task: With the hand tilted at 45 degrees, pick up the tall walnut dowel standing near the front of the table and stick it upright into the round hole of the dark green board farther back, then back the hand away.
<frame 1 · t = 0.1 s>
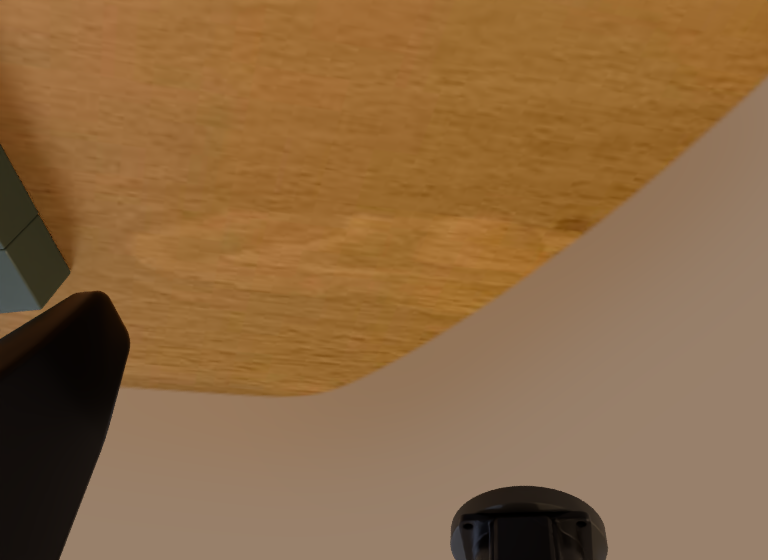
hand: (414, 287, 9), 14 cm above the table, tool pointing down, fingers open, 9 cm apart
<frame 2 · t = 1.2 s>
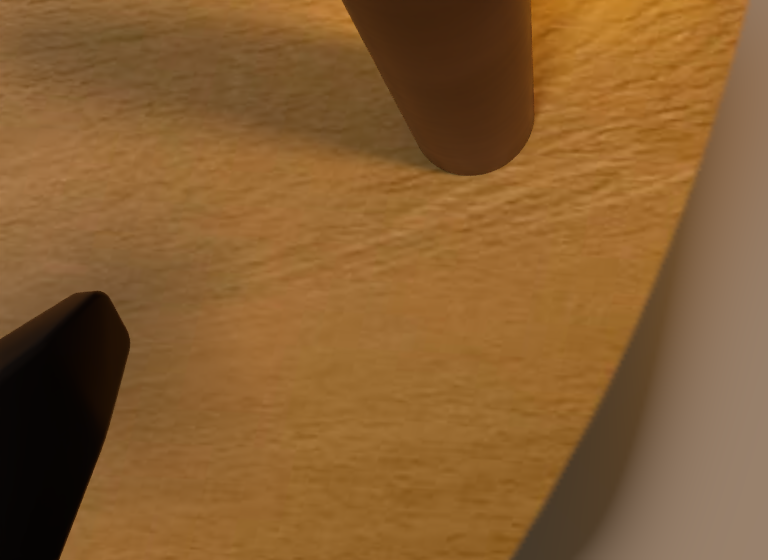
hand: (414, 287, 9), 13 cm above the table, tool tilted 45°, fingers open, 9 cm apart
dowel: (472, 117, 23), on the table
when the fingers open (8 cm above the table, at t = 11.9 s): dowel stays where it is, resting in board.
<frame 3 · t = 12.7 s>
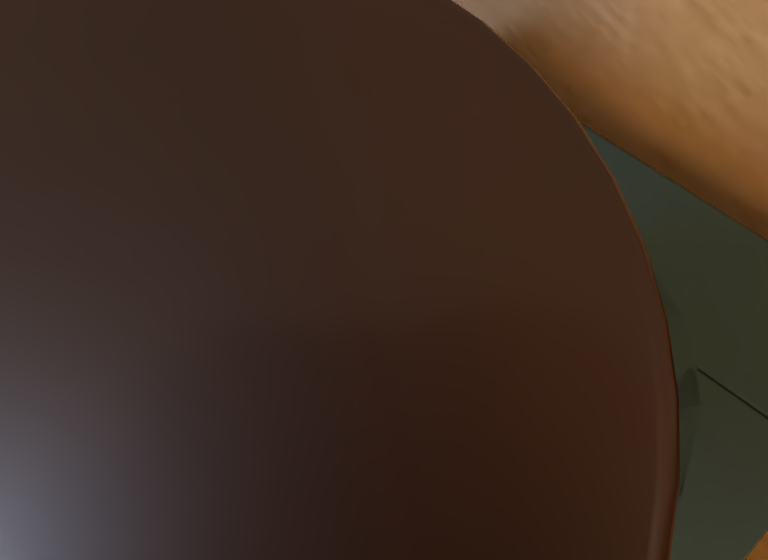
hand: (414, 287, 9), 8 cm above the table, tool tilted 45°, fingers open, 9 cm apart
board: (477, 388, 17), on the table
dowel: (477, 384, 17), resting in board
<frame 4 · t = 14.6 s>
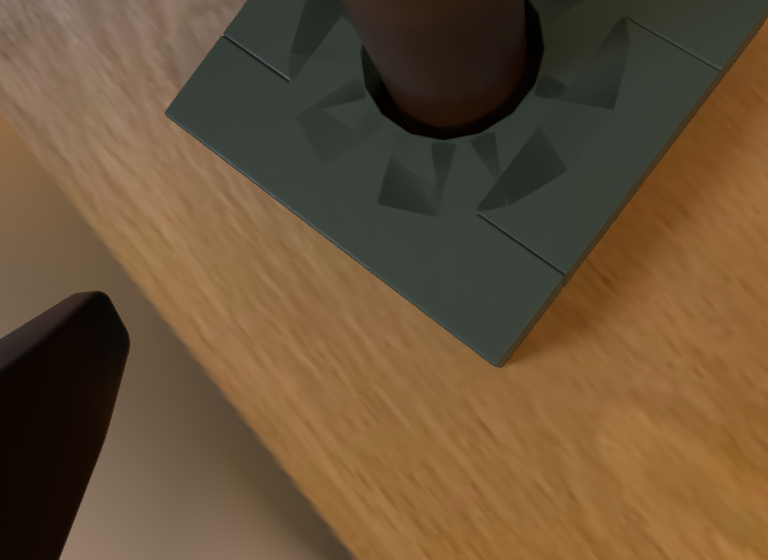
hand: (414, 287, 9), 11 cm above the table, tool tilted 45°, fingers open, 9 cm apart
board: (460, 88, 21), on the table
dowel: (460, 85, 21), resting in board
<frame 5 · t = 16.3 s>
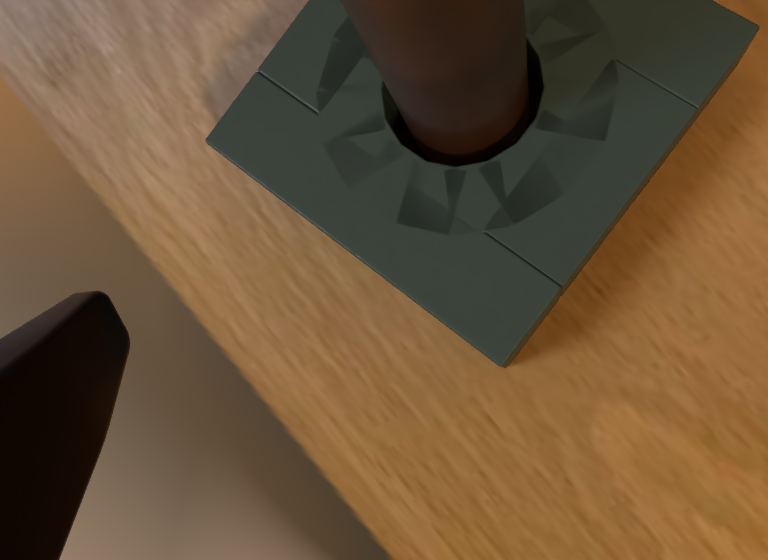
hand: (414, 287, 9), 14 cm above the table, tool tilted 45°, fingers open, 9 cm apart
board: (468, 117, 24), on the table
dowel: (469, 114, 24), resting in board
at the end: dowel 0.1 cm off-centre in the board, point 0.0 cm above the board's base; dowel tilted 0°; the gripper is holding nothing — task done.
